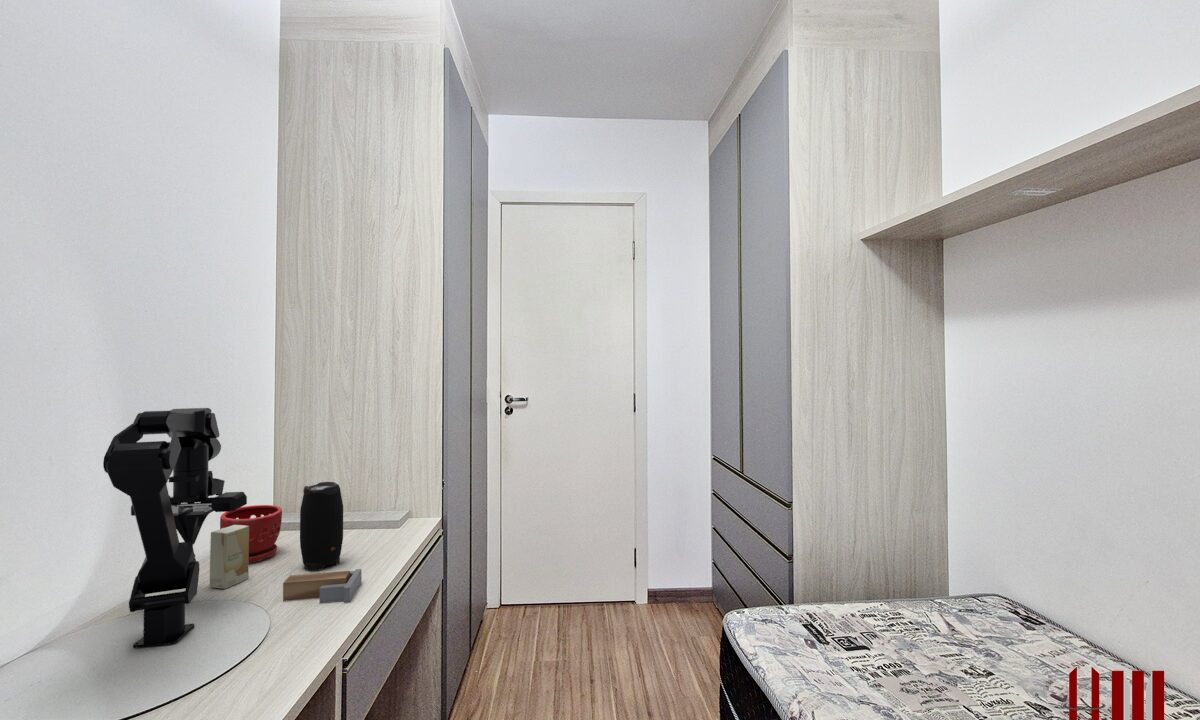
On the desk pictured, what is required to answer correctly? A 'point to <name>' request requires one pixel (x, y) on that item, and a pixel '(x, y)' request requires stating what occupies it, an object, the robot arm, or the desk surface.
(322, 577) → the brown wooden block
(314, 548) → the portable speaker
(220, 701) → the desk surface
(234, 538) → the skincare box
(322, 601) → the end cap
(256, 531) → the plant pot
